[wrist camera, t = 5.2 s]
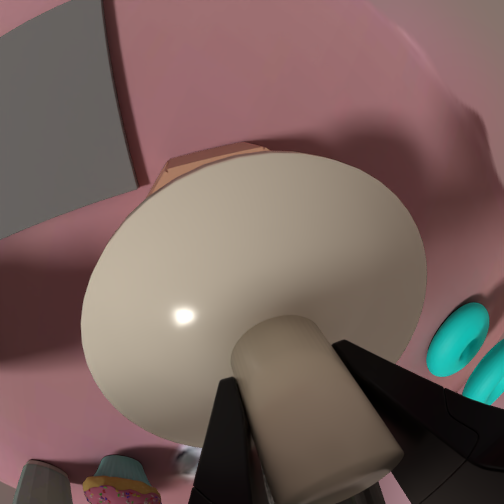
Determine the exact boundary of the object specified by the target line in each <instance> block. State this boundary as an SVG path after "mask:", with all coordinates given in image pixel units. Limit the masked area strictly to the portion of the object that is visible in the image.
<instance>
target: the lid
mask: <svg viewBox="0 0 504 504" xmlns="http://www.w3.org/2000/svg"><path fill="white" fill-rule="evenodd" d="M426 283H427V265H426V257H425V251H424V246H423V242H422V239H421V236H420V233H419V230H418V228H417V226H416V224H415V222H414V220H413V218H412V217H411V215H410V213H409V211H408V210H407V209H406V207H405V206H404V205H403V203H402V202H401V201H400V200H399V199H398V197H397V196H396V195H395V194H394V193H393V192H392V191H390V190H389V189H388V188H387V187H386V186H385V185H384V184H382V183H381V182H380V181H378V180H377V179H375V178H373V177H372V176H370V175H368V174H367V173H365V172H363V171H362V170H360V169H358V168H355V167H352V166H350V165H347V164H344V163H342V162H339V161H336V160H333V159H329V158H325V157H322V156H317V155H312V154H306V153H301V152H295V151H260V152H252V153H245V154H238V155H233V156H230V157H226V158H223V159H219V160H216V161H213V162H210V163H206V164H204V165H201V166H199V167H197V168H195V169H193V170H191V171H189V172H187V173H184V174H182V175H180V176H178V177H176V178H175V179H173V180H171V181H170V182H168V183H167V184H166V185H164V186H163V187H161V188H160V189H158V190H157V191H155V192H154V193H152V194H151V195H150V196H148V197H147V198H146V199H145V200H144V201H143V202H142V203H141V204H140V205H139V206H138V207H136V208H135V209H134V210H133V211H132V212H131V213H130V214H129V215H128V216H127V217H126V219H125V220H124V221H123V222H122V224H121V225H120V226H119V228H118V229H117V230H116V231H115V233H114V234H113V235H112V237H111V238H110V240H109V242H108V243H107V245H106V247H105V249H104V251H103V253H102V255H101V256H100V258H99V260H98V262H97V264H96V266H95V268H94V271H93V273H92V275H91V277H90V281H89V284H88V287H87V290H86V293H85V297H84V300H83V308H82V316H81V336H82V346H83V350H84V354H85V358H86V362H87V365H88V367H89V369H90V372H91V374H92V376H93V378H94V381H95V382H96V384H97V385H98V387H99V388H100V390H101V391H102V393H103V394H104V396H105V397H106V398H107V399H108V400H109V402H110V403H111V404H112V405H113V406H114V407H115V408H116V409H117V410H118V411H119V412H120V413H122V414H123V415H124V416H125V417H126V418H128V419H129V420H130V421H132V422H133V423H135V424H136V425H138V426H139V427H141V428H143V429H144V430H146V431H148V432H150V433H152V434H154V435H157V436H159V437H161V438H164V439H167V440H170V441H173V442H176V443H180V444H184V445H188V446H192V447H199V448H202V447H203V443H204V439H205V435H206V431H207V427H208V423H209V419H210V415H211V411H212V407H213V404H214V400H215V396H216V392H217V388H218V384H219V381H220V380H221V379H224V378H228V377H231V376H232V377H234V378H235V380H236V383H237V387H238V390H239V393H240V397H241V400H242V404H243V407H244V410H245V414H246V417H247V421H248V425H249V428H250V432H251V435H252V438H253V441H254V444H255V447H256V451H257V454H258V457H259V460H260V463H261V466H262V469H263V472H264V475H265V478H266V481H267V484H268V486H269V489H270V492H271V495H272V498H273V501H274V503H275V504H336V503H339V502H341V501H343V500H346V499H348V498H350V497H352V496H354V495H356V494H358V493H360V492H362V491H363V490H365V489H367V488H368V487H370V486H372V485H373V484H375V483H376V482H378V481H379V480H380V479H382V478H383V477H385V476H386V475H387V474H388V473H389V472H390V471H392V470H393V469H394V468H395V467H396V466H397V465H398V464H399V462H400V461H401V460H402V458H403V456H404V451H403V450H402V448H401V447H400V445H399V444H398V442H397V441H396V439H395V438H394V437H393V435H392V434H391V432H390V431H389V429H388V428H387V426H386V425H385V423H384V422H383V420H382V419H381V417H380V416H379V414H378V413H377V411H376V410H375V408H374V407H373V405H372V404H371V402H370V401H369V400H368V398H367V397H366V395H365V394H364V392H363V391H362V389H361V388H360V386H359V385H358V383H357V382H356V381H355V379H354V378H353V376H352V375H351V373H350V372H349V370H348V369H347V367H346V366H345V364H344V363H343V362H342V360H341V359H340V357H339V356H338V354H337V353H336V351H335V350H334V349H333V347H332V346H331V345H332V344H333V343H335V342H337V341H340V340H343V339H345V340H348V341H350V342H352V343H354V344H356V345H358V346H360V347H362V348H364V349H366V350H368V351H370V352H372V353H374V354H376V355H378V356H380V357H382V358H384V359H386V360H388V361H390V362H392V363H394V364H396V362H397V361H398V360H399V358H400V357H401V355H402V354H403V352H404V350H405V349H406V347H407V345H408V343H409V341H410V339H411V337H412V335H413V333H414V331H415V329H416V326H417V323H418V321H419V318H420V315H421V312H422V308H423V303H424V299H425V293H426Z"/></svg>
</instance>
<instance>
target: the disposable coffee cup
mask: <svg viewBox="0 0 504 504" xmlns="http://www.w3.org/2000/svg"><path fill="white" fill-rule="evenodd" d="M12 504H73V502H72V495H71V487H70V482H69V479H68V476H67V474H66V473H65V472H63V471H62V470H61V469H59V468H57V467H55V466H52V465H50V464H47V463H44V462H41V461H34V460H29V461H28V462H27V463H26V465H25V466H24V467H23V470H22V473H21V476H20V479H19V482H18V485H17V489H16V492H15V496H14V499H13V503H12Z"/></svg>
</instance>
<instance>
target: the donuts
mask: <svg viewBox="0 0 504 504" xmlns="http://www.w3.org/2000/svg"><path fill="white" fill-rule="evenodd" d="M488 329H489V314H488V312H487V309H486V308H485V307H484V306H483V305H482V304H480V303H475V302H472V303H468V304H465V305H463V306H462V307H460V308H458V309H457V310H456V311H455V312H454V313H453V314H451V315H450V316H449V317H448V318H447V320H446V321H445V322H444V323H443V324H442V326H441V327H440V328H439V330H438V331H437V333H436V334H435V336H434V338H433V340H432V342H431V344H430V346H429V349H428V352H427V358H426V362H427V367H428V369H429V371H430V372H431V373H432V374H433V375H435V376H439V377H445V376H450V375H452V374H454V373H456V372H458V371H459V370H461V369H462V368H463V367H465V366H466V365H467V364H468V363H469V362H470V361H471V360H472V359H473V358H474V356H475V355H476V354H477V352H478V351H479V349H480V348H481V346H482V344H483V343H484V341H485V338H486V336H487V333H488ZM503 392H504V339H503V340H501V341H500V342H498V343H497V344H496V345H495V346H494V347H493V348H492V349H491V350H490V351H489V352H488V353H487V354H486V355H485V356H484V358H483V359H482V360H481V361H480V362H479V364H478V365H477V366H476V368H475V369H474V371H473V372H472V374H471V375H470V377H469V379H468V381H467V382H466V385H465V387H464V390H463V393H462V395H463V396H465V397H467V398H470V399H473V400H476V401H479V402H481V403H484V404H488V405H491V404H492V403H493V402H494V401H495V400H496V399H497V398H498V397H499V396H500V395H501V394H502V393H503Z"/></svg>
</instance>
